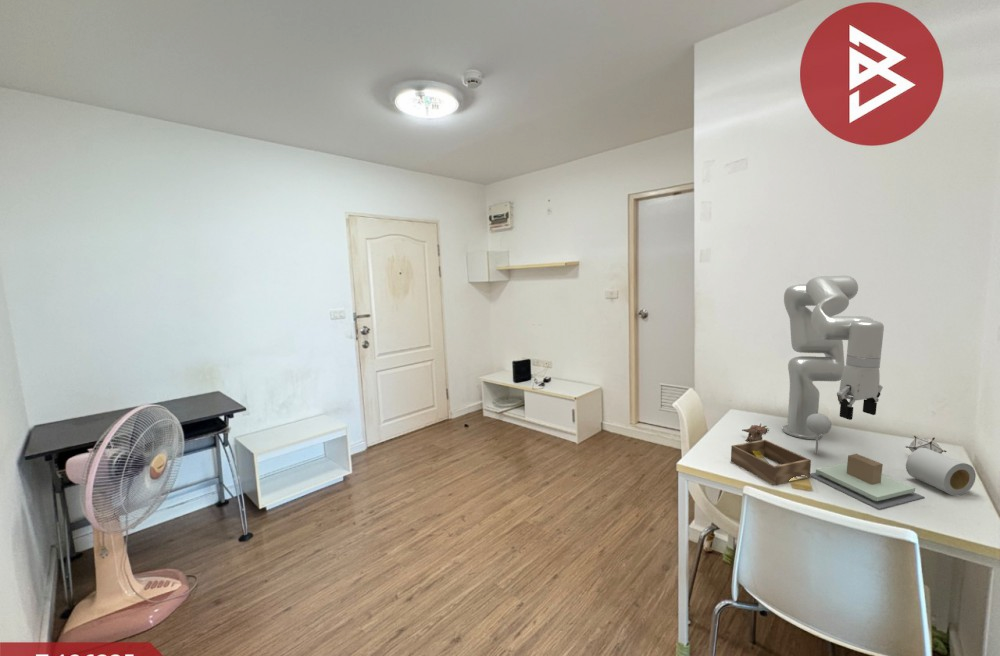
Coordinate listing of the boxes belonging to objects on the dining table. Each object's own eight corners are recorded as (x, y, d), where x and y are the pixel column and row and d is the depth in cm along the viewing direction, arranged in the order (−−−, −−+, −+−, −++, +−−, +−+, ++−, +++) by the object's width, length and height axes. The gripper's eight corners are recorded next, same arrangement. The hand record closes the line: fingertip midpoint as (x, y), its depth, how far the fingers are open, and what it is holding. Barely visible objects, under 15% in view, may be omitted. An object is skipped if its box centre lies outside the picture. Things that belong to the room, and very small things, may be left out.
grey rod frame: (925, 468, 137) (943, 445, 136) (939, 471, 130) (958, 446, 129) (894, 451, 141) (912, 428, 141) (906, 452, 134) (925, 428, 133)
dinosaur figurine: (773, 451, 147) (775, 427, 145) (756, 451, 147) (758, 427, 146) (754, 435, 160) (755, 413, 159) (739, 435, 161) (740, 414, 159)
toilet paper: (973, 494, 116) (977, 461, 114) (942, 497, 115) (946, 464, 113) (933, 476, 126) (936, 446, 124) (904, 479, 125) (907, 449, 123)
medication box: (771, 478, 129) (772, 467, 128) (762, 477, 130) (763, 466, 129) (759, 461, 140) (760, 450, 140) (750, 460, 141) (751, 449, 140)
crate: (763, 455, 144) (764, 439, 143) (809, 477, 128) (810, 460, 127) (730, 461, 140) (731, 445, 140) (773, 485, 124) (774, 467, 124)
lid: (850, 467, 132) (852, 444, 131) (914, 495, 116) (917, 468, 115) (815, 475, 128) (817, 451, 127) (876, 504, 112) (879, 477, 111)
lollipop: (824, 450, 145) (826, 411, 143) (832, 459, 139) (836, 418, 137) (800, 448, 148) (803, 409, 146) (808, 457, 141) (811, 416, 139)
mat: (848, 466, 134) (848, 465, 134) (924, 498, 115) (924, 496, 115) (807, 475, 129) (807, 474, 129) (879, 510, 110) (879, 508, 110)
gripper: (869, 355, 125) (863, 407, 127) (828, 362, 120) (823, 415, 123) (898, 361, 117) (892, 415, 120) (855, 367, 113) (850, 424, 116)
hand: (857, 415), depth 121 cm, fingers open, 9 cm apart
